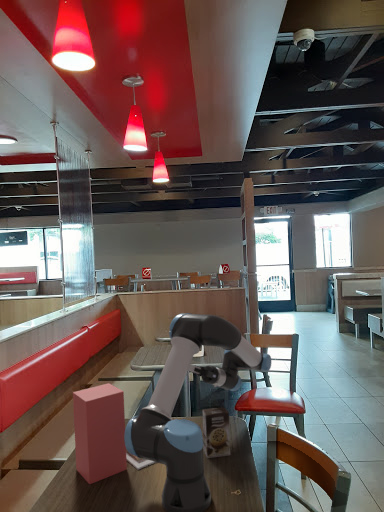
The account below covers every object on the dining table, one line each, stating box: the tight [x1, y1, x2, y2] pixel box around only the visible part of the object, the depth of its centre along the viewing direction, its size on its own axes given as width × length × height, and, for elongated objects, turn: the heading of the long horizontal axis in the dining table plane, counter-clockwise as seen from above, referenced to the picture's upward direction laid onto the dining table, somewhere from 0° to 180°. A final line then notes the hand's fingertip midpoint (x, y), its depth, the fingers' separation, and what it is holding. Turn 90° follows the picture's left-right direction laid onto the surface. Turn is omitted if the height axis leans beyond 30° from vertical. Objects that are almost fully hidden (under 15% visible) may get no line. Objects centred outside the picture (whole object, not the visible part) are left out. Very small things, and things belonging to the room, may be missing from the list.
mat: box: [126, 452, 157, 471], centre depth 157 cm, size 28×18×1 cm, turn 127°
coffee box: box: [202, 406, 231, 459], centre depth 151 cm, size 9×6×16 cm
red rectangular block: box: [72, 383, 128, 485], centre depth 143 cm, size 14×12×28 cm
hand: (177, 363), depth 162 cm, fingers open, 13 cm apart
